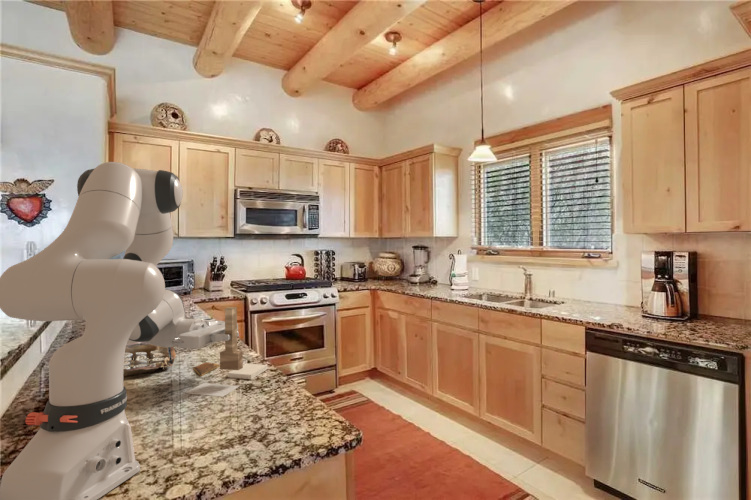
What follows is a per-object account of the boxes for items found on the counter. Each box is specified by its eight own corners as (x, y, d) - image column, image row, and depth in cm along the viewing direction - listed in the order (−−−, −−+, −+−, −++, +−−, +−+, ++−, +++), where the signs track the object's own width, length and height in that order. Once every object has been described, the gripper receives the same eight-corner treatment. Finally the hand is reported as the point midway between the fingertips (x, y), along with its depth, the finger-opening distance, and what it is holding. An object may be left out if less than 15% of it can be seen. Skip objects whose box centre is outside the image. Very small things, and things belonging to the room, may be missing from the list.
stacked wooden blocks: (238, 370, 116) (237, 308, 116) (220, 369, 117) (219, 308, 117) (242, 367, 118) (242, 307, 118) (225, 366, 119) (224, 306, 119)
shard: (200, 379, 123) (200, 374, 123) (179, 378, 125) (179, 372, 125) (221, 368, 134) (221, 363, 134) (201, 367, 136) (201, 362, 136)
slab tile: (251, 374, 121) (267, 365, 131) (227, 372, 123) (245, 363, 133) (251, 381, 121) (267, 371, 131) (227, 379, 123) (245, 369, 133)
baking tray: (182, 373, 130) (182, 357, 130) (102, 386, 118) (102, 368, 118) (170, 352, 155) (170, 338, 155) (103, 360, 143) (103, 345, 142)
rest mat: (222, 398, 107) (222, 396, 107) (184, 394, 110) (184, 392, 110) (239, 387, 115) (239, 386, 115) (203, 384, 118) (203, 382, 118)
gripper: (167, 330, 110) (211, 332, 107) (214, 317, 130) (252, 319, 127) (168, 353, 111) (211, 356, 107) (214, 336, 130) (252, 338, 127)
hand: (233, 335), depth 117 cm, fingers closed on stacked wooden blocks, 2 cm apart
